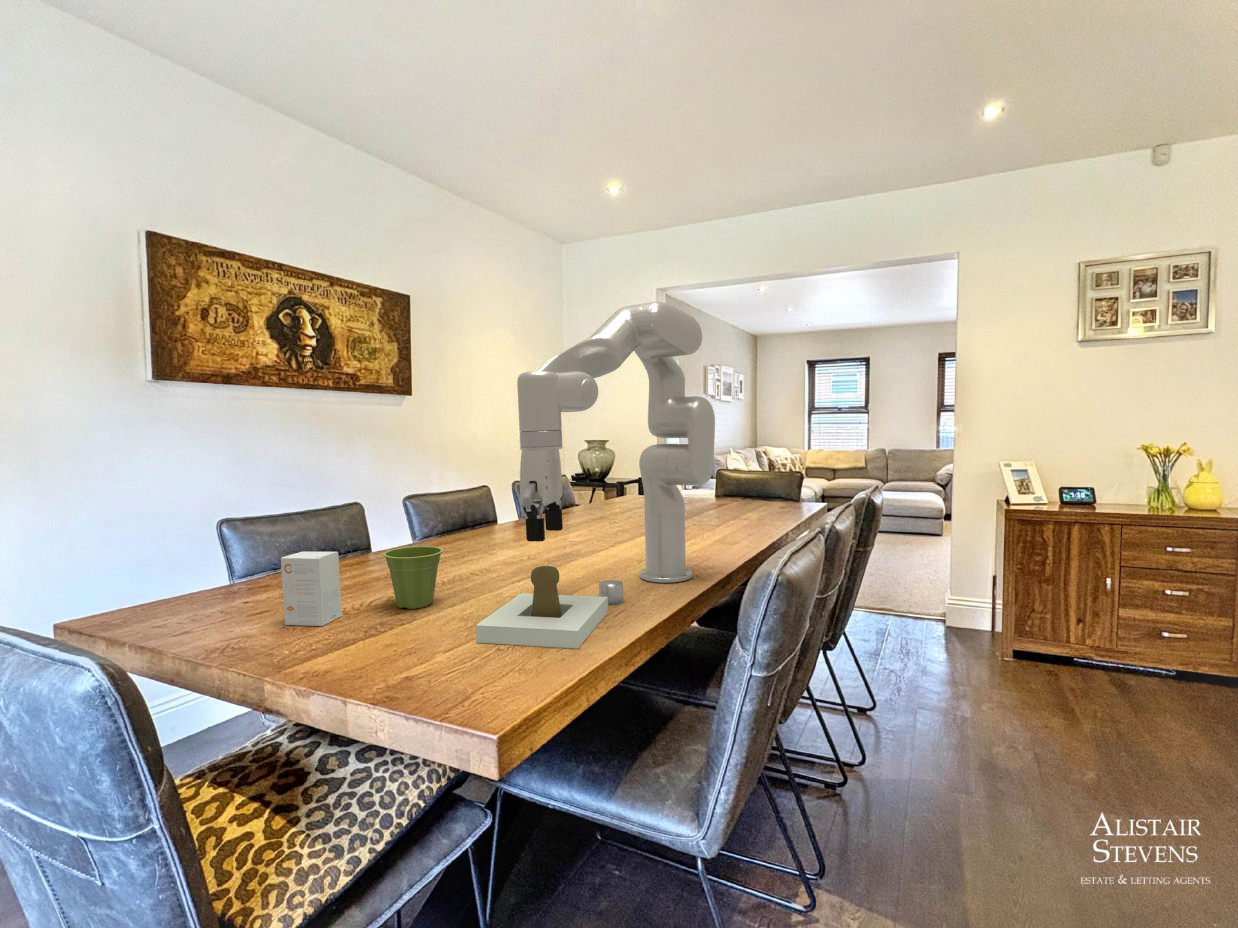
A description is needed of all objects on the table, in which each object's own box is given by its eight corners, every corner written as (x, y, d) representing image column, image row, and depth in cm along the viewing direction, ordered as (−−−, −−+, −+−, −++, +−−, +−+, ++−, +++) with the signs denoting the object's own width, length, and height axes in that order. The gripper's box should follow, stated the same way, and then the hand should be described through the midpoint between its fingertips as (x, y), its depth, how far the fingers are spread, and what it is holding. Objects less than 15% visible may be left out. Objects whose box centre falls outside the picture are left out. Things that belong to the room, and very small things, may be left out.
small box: (342, 616, 121) (339, 551, 120) (322, 626, 115) (318, 558, 114) (306, 615, 122) (302, 550, 121) (283, 625, 116) (279, 557, 115)
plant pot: (407, 616, 120) (405, 559, 119) (374, 607, 127) (371, 553, 126) (457, 602, 129) (454, 549, 128) (423, 593, 136) (420, 543, 135)
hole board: (521, 607, 124) (520, 593, 123) (607, 611, 120) (607, 596, 119) (476, 642, 104) (475, 625, 104) (578, 648, 100) (577, 630, 100)
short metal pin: (602, 598, 130) (602, 579, 129) (625, 599, 128) (625, 580, 128) (596, 605, 125) (596, 585, 125) (620, 606, 124) (620, 586, 123)
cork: (565, 621, 115) (564, 563, 114) (560, 632, 108) (558, 570, 108) (533, 621, 115) (532, 563, 114) (526, 632, 109) (524, 571, 108)
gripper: (538, 439, 119) (542, 526, 120) (501, 444, 102) (506, 545, 104) (575, 438, 117) (579, 526, 119) (544, 443, 101) (549, 545, 102)
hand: (545, 535), depth 111 cm, fingers open, 9 cm apart
